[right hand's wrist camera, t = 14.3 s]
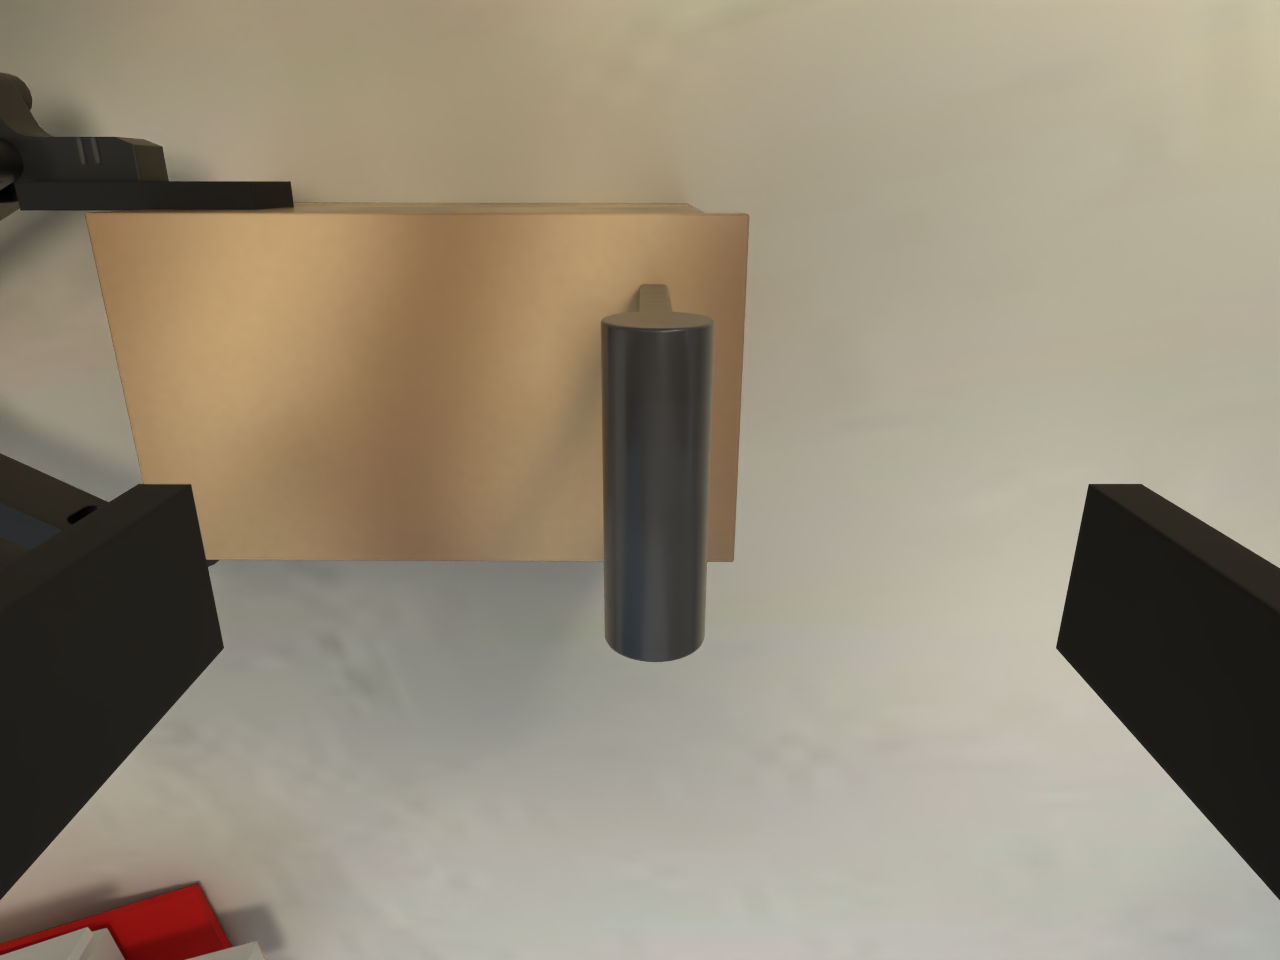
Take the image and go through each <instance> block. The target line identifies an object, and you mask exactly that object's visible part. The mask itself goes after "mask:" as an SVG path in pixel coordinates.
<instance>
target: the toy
mask: <svg viewBox="0 0 1280 960" xmlns="http://www.w3.org/2000/svg"><path fill="white" fill-rule="evenodd" d="M0 960H266V959H265V957H264V955H263V953H262V951H261V949H260V947H259V945H258V943H257V941H254V942H250V943H246V944H242V945H239V946H235V947H232V946H231V944H230V942H229V940H228V939H227V937H226V935H225V933H224V931H223V929H222V928H221V926H220V924H219V922H218V920H217V918H216V916H215V915H214V913H213V911H212V909H211V907H210V905H209V903H208V902H207V900H206V898H205V896H204V894H203V892H202V890H201V889H200V887H199V885H198V884H195V885H192V886H189V887H185V888H182V889H179V890H176V891H172V892H169V893H166V894H163V895H159V896H156V897H153V898H149V899H146V900H143V901H140V902H136V903H133V904H130V905H126V906H123V907H120V908H117V909H113V910H110V911H107V912H104V913H100V914H97V915H94V916H90V917H87V918H84V919H81V920H77V921H74V922H71V923H67V924H64V925H61V926H58V927H54V928H51V929H48V930H45V931H41V932H38V933H35V934H31V935H28V936H25V937H22V938H18V939H15V940H12V941H8V942H5V943H2V944H0Z"/></svg>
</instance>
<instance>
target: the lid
mask: <svg viewBox="0 0 1280 960" xmlns="http://www.w3.org/2000/svg"><path fill="white" fill-rule="evenodd" d="M85 216H86V221H87V226H88V230H89V235H90V239H91V244H92V249H93V253H94V258H95V262H96V267H97V272H98V276H99V281H100V285H101V290H102V295H103V299H104V304H105V308H106V313H107V318H108V322H109V327H110V331H111V336H112V341H113V345H114V350H115V354H116V359H117V364H118V368H119V373H120V377H121V382H122V387H123V391H124V396H125V400H126V405H127V410H128V414H129V419H130V423H131V428H132V433H133V437H134V442H135V446H136V451H137V456H138V460H139V465H140V469H141V474H142V479H143V483H144V484H191V486H192V491H193V496H194V501H195V506H196V511H197V516H198V521H199V526H200V531H201V536H202V541H203V546H204V551H205V556H206V560H406V561H604V604H605V638H606V641H607V643H608V644H609V646H610V647H611V648H612V649H613V650H614V651H616V652H617V653H619V654H621V655H623V656H625V657H628V658H631V659H635V660H640V661H647V662H664V661H671V660H676V659H680V658H683V657H686V656H688V655H690V654H692V653H693V652H695V651H696V650H697V649H698V648H699V647H700V646H701V644H702V642H703V640H704V634H705V603H706V573H707V562H733V560H734V543H735V521H736V498H737V476H738V454H739V432H740V410H741V388H742V366H743V344H744V322H745V300H746V277H747V255H748V233H749V215H747V214H744V213H436V212H91V213H86V214H85Z"/></svg>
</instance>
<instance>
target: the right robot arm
mask: <svg viewBox="0 0 1280 960" xmlns="http://www.w3.org/2000/svg"><path fill="white" fill-rule="evenodd" d="M223 648H224V646H223V641H222V636H221V631H220V626H219V621H218V616H217V611H216V606H215V601H214V596H213V591H212V586H211V581H210V576H209V571H208V566H207V561H206V556H205V551H204V546H203V541H202V536H201V531H200V526H199V521H198V516H197V511H196V506H195V501H194V496H193V491H192V486H191V484H138V485H137V486H135V487H133V488H132V489H130V490H128V491H127V492H125V493H123V494H122V495H120V496H118V497H117V498H115V499H114V500H112V501H110V502H109V503H107V504H105V505H104V506H102V507H100V508H99V509H97V510H95V511H94V512H92V513H91V514H89V515H87V516H86V517H84V518H82V519H81V520H79V521H77V522H76V523H74V524H72V525H71V526H69V527H67V528H66V529H64V530H63V531H61V532H59V533H58V534H56V535H54V536H53V537H51V538H49V539H48V540H46V541H44V542H43V543H41V544H40V545H38V546H36V547H35V548H33V549H31V550H30V551H28V552H26V553H25V554H23V555H21V556H20V557H18V558H17V559H15V560H13V561H12V562H10V563H8V564H7V565H5V566H3V567H2V568H0V900H1V899H2V897H3V896H4V895H5V894H6V893H7V892H8V891H9V890H10V888H11V887H12V886H13V885H14V884H15V883H16V882H17V881H18V879H19V878H20V877H21V876H22V875H23V874H24V873H25V872H26V870H27V869H28V868H29V867H30V866H31V865H32V864H33V863H34V861H35V860H36V859H37V858H38V857H39V856H40V855H41V854H42V852H43V851H44V850H45V849H46V848H47V847H48V846H49V845H50V843H51V842H52V841H53V840H54V839H55V838H56V837H57V836H58V834H59V833H60V832H61V831H62V830H63V829H64V828H65V826H66V825H67V824H68V823H69V822H70V821H71V820H72V819H73V817H74V816H75V815H76V814H77V813H78V812H79V811H80V810H81V808H82V807H83V806H84V805H85V804H86V803H87V802H88V801H89V799H90V798H91V797H92V796H93V795H94V794H95V793H96V792H97V790H98V789H99V788H100V787H101V786H102V785H103V784H104V783H105V781H106V780H107V779H108V778H109V777H110V776H111V775H112V774H113V772H114V771H115V770H116V769H117V768H118V767H119V766H120V765H121V763H122V762H123V761H124V760H125V759H126V758H127V757H128V756H129V754H130V753H131V752H132V751H133V750H134V749H135V748H136V746H137V745H138V744H139V743H140V742H141V741H142V740H143V739H144V737H145V736H146V735H147V734H148V733H149V732H150V731H151V730H152V728H153V727H154V726H155V725H156V724H157V723H158V722H159V721H160V719H161V718H162V717H163V716H164V715H165V714H166V713H167V712H168V710H169V709H170V708H171V707H172V706H173V705H174V704H175V703H176V701H177V700H178V699H179V698H180V697H181V696H182V695H183V694H184V692H185V691H186V690H187V689H188V688H189V687H190V686H191V685H192V683H193V682H194V681H195V680H196V679H197V678H198V677H199V676H200V674H201V673H202V672H203V671H204V670H205V669H206V668H207V667H208V665H209V664H210V663H211V662H212V661H213V660H214V659H215V657H216V656H217V655H218V654H219V653H220V652H221V651H222V650H223ZM1056 648H1057V650H1058V651H1059V652H1060V653H1061V654H1062V655H1063V656H1064V657H1065V659H1066V660H1067V661H1068V662H1069V663H1070V664H1071V665H1072V667H1073V668H1074V669H1075V670H1076V671H1077V672H1078V673H1079V674H1080V676H1081V677H1082V678H1083V679H1084V680H1085V681H1086V682H1087V683H1088V685H1089V686H1090V687H1091V688H1092V689H1093V690H1094V691H1095V692H1096V694H1097V695H1098V696H1099V697H1100V698H1101V699H1102V700H1103V701H1104V703H1105V704H1106V705H1107V706H1108V707H1109V708H1110V709H1111V710H1112V712H1113V713H1114V714H1115V715H1116V716H1117V717H1118V718H1119V719H1120V721H1121V722H1122V723H1123V724H1124V725H1125V726H1126V727H1127V728H1128V730H1129V731H1130V732H1131V733H1132V734H1133V735H1134V736H1135V737H1136V739H1137V740H1138V741H1139V742H1140V743H1141V744H1142V745H1143V747H1144V748H1145V749H1146V750H1147V751H1148V752H1149V753H1150V754H1151V756H1152V757H1153V758H1154V759H1155V760H1156V761H1157V762H1158V763H1159V765H1160V766H1161V767H1162V768H1163V769H1164V770H1165V771H1166V772H1167V774H1168V775H1169V776H1170V777H1171V778H1172V779H1173V780H1174V781H1175V783H1176V784H1177V785H1178V786H1179V787H1180V788H1181V789H1182V790H1183V792H1184V793H1185V794H1186V795H1187V796H1188V797H1189V798H1190V799H1191V801H1192V802H1193V803H1194V804H1195V805H1196V806H1197V807H1198V808H1199V810H1200V811H1201V812H1202V813H1203V814H1204V815H1205V816H1206V817H1207V819H1208V820H1209V821H1210V822H1211V823H1212V824H1213V825H1214V826H1215V828H1216V829H1217V830H1218V831H1219V832H1220V833H1221V834H1222V836H1223V837H1224V838H1225V839H1226V840H1227V841H1228V842H1229V843H1230V845H1231V846H1232V847H1233V848H1234V849H1235V850H1236V851H1237V852H1238V854H1239V855H1240V856H1241V857H1242V858H1243V859H1244V860H1245V861H1246V863H1247V864H1248V865H1249V866H1250V867H1251V868H1252V869H1253V870H1254V872H1255V873H1256V874H1257V875H1258V876H1259V877H1260V878H1261V879H1262V881H1263V882H1264V883H1265V884H1266V885H1267V886H1268V887H1269V888H1270V890H1271V891H1272V892H1273V893H1274V894H1275V895H1276V896H1277V897H1278V899H1279V900H1280V568H1278V567H1277V566H1275V565H1273V564H1272V563H1270V562H1268V561H1267V560H1265V559H1263V558H1262V557H1260V556H1259V555H1257V554H1255V553H1254V552H1252V551H1250V550H1249V549H1247V548H1245V547H1244V546H1242V545H1240V544H1239V543H1237V542H1236V541H1234V540H1232V539H1231V538H1229V537H1227V536H1226V535H1224V534H1222V533H1221V532H1219V531H1217V530H1216V529H1214V528H1213V527H1211V526H1209V525H1208V524H1206V523H1204V522H1203V521H1201V520H1199V519H1198V518H1196V517H1194V516H1193V515H1191V514H1189V513H1188V512H1186V511H1185V510H1183V509H1181V508H1180V507H1178V506H1176V505H1175V504H1173V503H1171V502H1170V501H1168V500H1166V499H1165V498H1163V497H1162V496H1160V495H1158V494H1157V493H1155V492H1153V491H1152V490H1150V489H1148V488H1147V487H1145V486H1143V485H1142V484H1089V486H1088V491H1087V496H1086V501H1085V506H1084V511H1083V516H1082V521H1081V526H1080V531H1079V536H1078V541H1077V546H1076V551H1075V556H1074V561H1073V566H1072V571H1071V576H1070V581H1069V586H1068V591H1067V596H1066V601H1065V606H1064V611H1063V616H1062V621H1061V626H1060V631H1059V636H1058V641H1057V646H1056Z"/></svg>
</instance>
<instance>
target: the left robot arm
mask: <svg viewBox="0 0 1280 960" xmlns="http://www.w3.org/2000/svg"><path fill="white" fill-rule="evenodd" d="M31 107H32V97H31V94H30V90H29V89H28V87H27V86H26V84H25V83H24V82H23V81H22V80H20V79H19V78H18V77H16V76H13V75H10V74H6V73H0V221H1V220H2V219H4V218H5V217H7V216H8V215H10V214H11V213H13V212H14V211H16V210H17V209H19V208H20V210H145V209H175V210H257V209H271V208H285V207H294V204H293V197H292V189H291V182H169V181H168V175H167V170H166V165H165V159H164V154H163V148H162V147H161V146H159V145H156V144H154V143H152V142H149V141H147V140H144V139H133V138H121V137H53V136H51V135H49V134H48V133H46V132H45V131H44V130H43V129H42V128H41V127H40V126H39V125H38V124H37V122H36V121H35V119H34V117H33V116H32V114H31V112H30V109H31ZM107 503H109V502H107V501H104V500H102V499H100V498H98V497H96V496H93V495H91V494H89V493H87V492H84V491H82V490H80V489H78V488H76V487H73V486H71V485H69V484H67V483H65V482H62V481H60V480H58V479H56V478H54V477H51V476H49V475H47V474H45V473H42V472H40V471H38V470H36V469H34V468H31V467H29V466H27V465H25V464H23V463H20V462H18V461H16V460H14V459H12V458H9V457H7V456H5V455H3V454H1V453H0V568H2V567H3V566H5V565H7V564H8V563H10V562H12V561H13V560H15V559H17V558H18V557H20V556H21V555H23V554H25V553H26V552H28V551H30V550H31V549H33V548H35V547H36V546H38V545H40V544H41V543H43V542H44V541H46V540H48V539H49V538H51V537H53V536H54V535H56V534H58V533H59V532H61V531H63V530H64V529H66V528H67V527H69V526H71V525H72V524H74V523H76V522H77V521H79V520H81V519H82V518H84V517H86V516H87V515H89V514H91V513H92V512H94V511H95V510H97V509H99V508H100V507H102V506H104V505H105V504H107ZM206 561H207V566H211V565H214V564H215V563H216V562H218V561H219V560H206Z"/></svg>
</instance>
